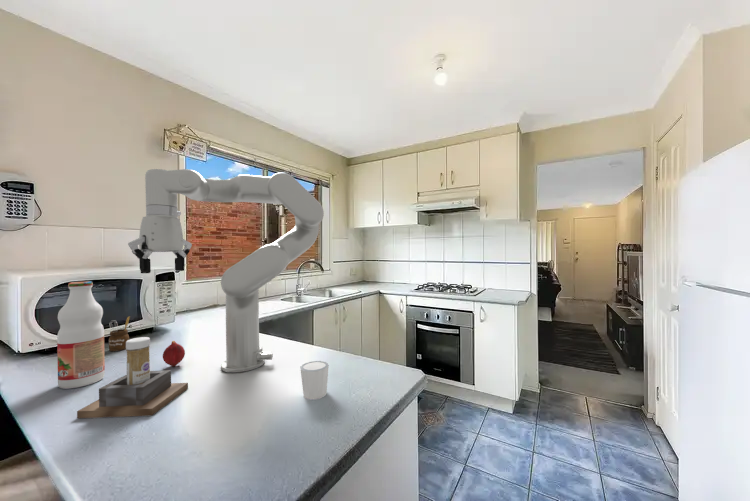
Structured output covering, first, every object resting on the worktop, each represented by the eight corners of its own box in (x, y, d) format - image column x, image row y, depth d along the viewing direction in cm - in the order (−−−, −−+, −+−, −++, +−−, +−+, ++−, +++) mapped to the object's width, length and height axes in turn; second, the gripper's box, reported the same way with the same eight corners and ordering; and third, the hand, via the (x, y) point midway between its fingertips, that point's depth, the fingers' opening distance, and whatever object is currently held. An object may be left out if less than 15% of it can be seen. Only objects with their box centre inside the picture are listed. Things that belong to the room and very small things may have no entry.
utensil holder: (114, 347, 116) (114, 316, 116) (133, 346, 117) (133, 315, 117) (104, 352, 110) (104, 319, 110) (124, 350, 111) (124, 318, 112)
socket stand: (188, 388, 78) (187, 367, 78) (152, 415, 65) (151, 390, 65) (125, 390, 78) (125, 369, 78) (77, 418, 65) (76, 392, 65)
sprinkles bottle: (143, 398, 70) (142, 341, 70) (121, 400, 69) (120, 342, 69) (154, 390, 74) (154, 335, 74) (134, 391, 74) (133, 336, 74)
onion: (189, 364, 96) (188, 339, 96) (170, 371, 91) (169, 344, 91) (177, 361, 98) (177, 337, 98) (158, 368, 93) (158, 342, 93)
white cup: (304, 403, 69) (304, 373, 69) (297, 391, 75) (297, 363, 75) (333, 396, 72) (332, 367, 72) (324, 385, 78) (323, 358, 78)
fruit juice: (97, 385, 82) (95, 282, 82) (50, 392, 78) (48, 284, 78) (110, 372, 90) (108, 279, 90) (68, 379, 86) (66, 281, 86)
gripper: (181, 217, 97) (183, 270, 97) (119, 210, 81) (121, 274, 81) (198, 215, 94) (199, 270, 94) (137, 208, 78) (139, 274, 78)
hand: (163, 271), depth 87 cm, fingers open, 9 cm apart
